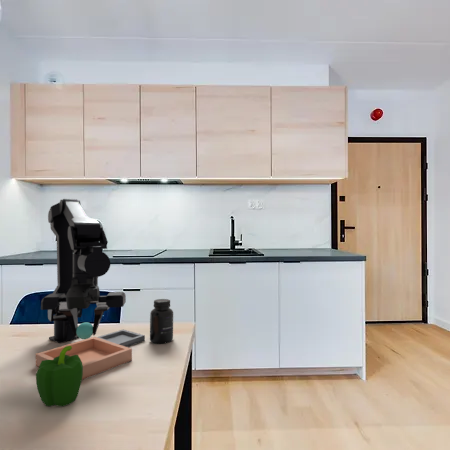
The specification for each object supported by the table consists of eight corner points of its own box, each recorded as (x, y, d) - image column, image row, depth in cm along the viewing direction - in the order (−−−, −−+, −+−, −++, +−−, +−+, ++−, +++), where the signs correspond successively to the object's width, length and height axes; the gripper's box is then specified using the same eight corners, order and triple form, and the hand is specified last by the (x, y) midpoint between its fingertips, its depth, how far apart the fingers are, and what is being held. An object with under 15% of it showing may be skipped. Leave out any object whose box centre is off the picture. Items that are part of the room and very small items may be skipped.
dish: (35, 366, 82) (35, 353, 82) (94, 347, 95) (94, 336, 95) (71, 384, 73) (71, 370, 73) (131, 360, 86) (131, 348, 86)
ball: (72, 339, 83) (73, 323, 83) (87, 335, 87) (87, 319, 87) (82, 342, 81) (82, 325, 81) (97, 338, 84) (97, 322, 84)
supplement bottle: (168, 345, 97) (168, 303, 97) (145, 343, 98) (146, 302, 98) (176, 337, 104) (176, 298, 104) (155, 336, 105) (155, 297, 105)
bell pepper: (52, 417, 60) (53, 361, 60) (27, 404, 64) (28, 352, 65) (93, 397, 67) (93, 347, 67) (68, 387, 72) (68, 339, 72)
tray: (94, 343, 99) (94, 337, 99) (123, 334, 107) (123, 329, 107) (116, 350, 93) (116, 344, 93) (144, 340, 101) (144, 335, 101)
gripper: (31, 277, 75) (31, 349, 74) (119, 276, 78) (119, 344, 77) (49, 271, 86) (49, 333, 85) (126, 269, 89) (125, 329, 88)
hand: (85, 335), depth 84 cm, fingers closed on ball, 4 cm apart
